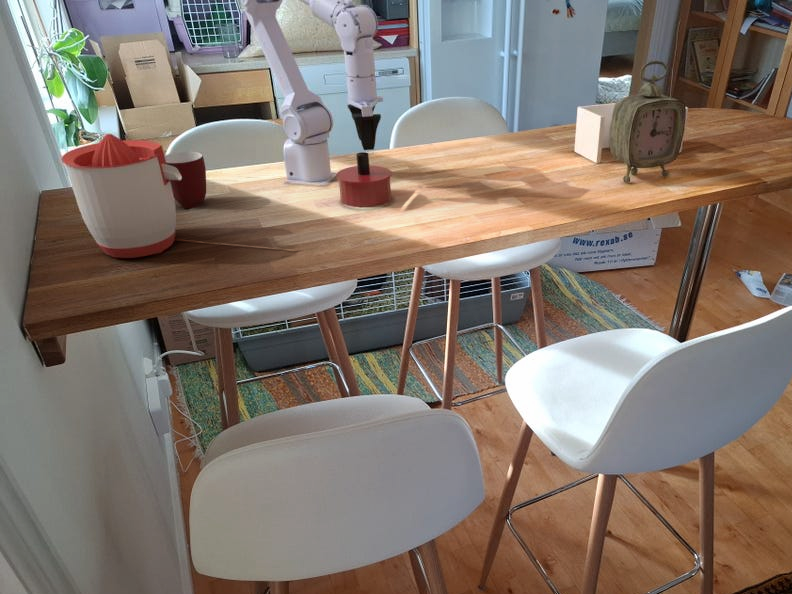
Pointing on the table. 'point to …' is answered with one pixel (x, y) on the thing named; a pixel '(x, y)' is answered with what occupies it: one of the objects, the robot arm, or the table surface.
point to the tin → (365, 194)
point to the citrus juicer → (125, 195)
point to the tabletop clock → (647, 127)
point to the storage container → (596, 130)
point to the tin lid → (363, 172)
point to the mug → (188, 178)
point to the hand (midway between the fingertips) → (366, 144)
